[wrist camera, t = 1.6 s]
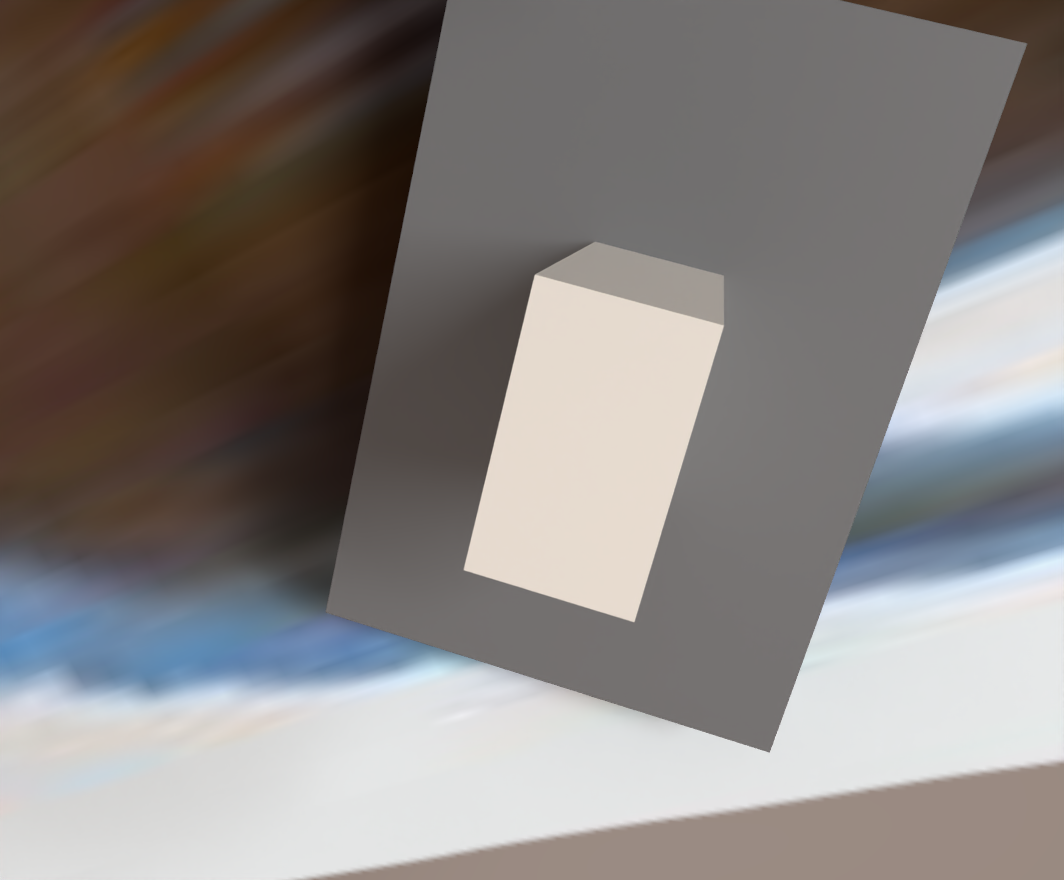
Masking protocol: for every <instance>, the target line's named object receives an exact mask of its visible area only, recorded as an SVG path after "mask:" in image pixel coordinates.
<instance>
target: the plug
mask: <svg viewBox="0 0 1064 880" xmlns="http://www.w3.org/2000/svg"><path fill="white" fill-rule="evenodd" d="M723 327H724V276H723V275H720V274H716V273H712V272H708V271H705V270H701V269H697V268H693V267H689V266H686V265H682V264H678V263H674V262H671V261H667V260H663V259H659V258H655V257H652V256H648V255H644V254H640V253H636V252H633V251H629V250H625V249H621V248H618V247H614V246H610V245H606V244H602V243H599V242H594V243H592V244H590V245H588V246H586V247H584V248H583V249H581V250H579V251H577V252H575V253H573V254H572V255H570V256H568V257H566V258H564V259H562V260H561V261H559V262H557V263H555V264H553V265H551V266H550V267H548V268H546V269H544V270H542V271H540V272H539V273H537V274H535V276H534V280H533V284H532V288H531V293H530V297H529V301H528V305H527V309H526V313H525V317H524V322H523V326H522V330H521V334H520V338H519V342H518V346H517V351H516V355H515V359H514V363H513V367H512V371H511V375H510V380H509V384H508V388H507V392H506V396H505V400H504V405H503V409H502V413H501V417H500V421H499V425H498V429H497V434H496V438H495V442H494V446H493V450H492V454H491V458H490V463H489V467H488V471H487V475H486V479H485V483H484V487H483V492H482V496H481V500H480V504H479V508H478V512H477V516H476V521H475V525H474V529H473V533H472V537H471V541H470V545H469V550H468V554H467V558H466V562H465V566H464V570H465V571H468V572H471V573H475V574H478V575H481V576H485V577H488V578H491V579H494V580H498V581H501V582H504V583H507V584H511V585H514V586H517V587H521V588H524V589H527V590H530V591H534V592H537V593H540V594H543V595H547V596H550V597H553V598H557V599H560V600H563V601H566V602H570V603H573V604H576V605H579V606H583V607H586V608H589V609H593V610H596V611H599V612H602V613H606V614H609V615H612V616H615V617H619V618H622V619H625V620H629V621H632V622H635V618H636V615H637V612H638V609H639V605H640V602H641V599H642V595H643V592H644V589H645V585H646V582H647V579H648V575H649V572H650V569H651V566H652V562H653V559H654V556H655V552H656V549H657V546H658V542H659V539H660V536H661V532H662V529H663V526H664V523H665V519H666V516H667V513H668V509H669V506H670V503H671V499H672V496H673V493H674V489H675V486H676V483H677V480H678V476H679V473H680V470H681V466H682V463H683V460H684V456H685V453H686V450H687V446H688V443H689V440H690V437H691V433H692V430H693V427H694V423H695V420H696V417H697V413H698V410H699V407H700V403H701V400H702V397H703V394H704V390H705V387H706V384H707V380H708V377H709V374H710V370H711V367H712V364H713V360H714V357H715V354H716V351H717V347H718V344H719V341H720V337H721V334H722V331H723Z"/></svg>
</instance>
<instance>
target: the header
mask: <svg viewBox="0 0 1064 880" xmlns="http://www.w3.org/2000/svg"><path fill="white" fill-rule="evenodd" d="M1026 45H1027V44H1026V43H1022V42H1018V41H1013V40H1009V39H1005V38H1000V37H996V36H992V35H987V34H983V33H979V32H974V31H970V30H966V29H961V28H957V27H953V26H948V25H944V24H940V23H936V22H931V21H927V20H923V19H918V18H914V17H910V16H905V15H901V14H897V13H892V12H888V11H884V10H879V9H875V8H871V7H866V6H862V5H858V4H853V3H849V2H845V1H840V0H447V4H446V9H445V14H444V20H443V25H442V30H441V35H440V40H439V45H438V50H437V55H436V60H435V65H434V70H433V75H432V80H431V85H430V90H429V95H428V100H427V105H426V110H425V115H424V120H423V125H422V130H421V135H420V140H419V145H418V150H417V155H416V160H415V165H414V170H413V176H412V181H411V186H410V191H409V196H408V201H407V206H406V211H405V216H404V221H403V226H402V231H401V236H400V241H399V246H398V251H397V256H396V261H395V266H394V271H393V276H392V281H391V286H390V291H389V296H388V301H387V306H386V311H385V316H384V321H383V326H382V331H381V337H380V342H379V347H378V352H377V357H376V362H375V367H374V372H373V377H372V382H371V387H370V392H369V397H368V402H367V407H366V412H365V417H364V422H363V427H362V432H361V437H360V442H359V447H358V452H357V457H356V462H355V467H354V472H353V477H352V482H351V487H350V493H349V498H348V503H347V508H346V513H345V518H344V523H343V528H342V533H341V538H340V543H339V548H338V553H337V558H336V563H335V568H334V573H333V578H332V583H331V588H330V593H329V598H328V603H327V608H326V613H329V614H332V615H335V616H339V617H342V618H345V619H348V620H351V621H354V622H358V623H361V624H364V625H367V626H370V627H373V628H377V629H380V630H383V631H386V632H389V633H392V634H396V635H399V636H402V637H405V638H408V639H411V640H415V641H418V642H421V643H424V644H427V645H430V646H434V647H437V648H440V649H443V650H446V651H450V652H453V653H456V654H459V655H462V656H465V657H469V658H472V659H475V660H478V661H481V662H484V663H488V664H491V665H494V666H497V667H500V668H503V669H507V670H510V671H513V672H516V673H519V674H522V675H526V676H529V677H532V678H535V679H538V680H541V681H545V682H548V683H551V684H554V685H557V686H560V687H564V688H567V689H570V690H573V691H576V692H580V693H583V694H586V695H589V696H592V697H595V698H599V699H602V700H605V701H608V702H611V703H614V704H618V705H621V706H624V707H627V708H630V709H633V710H637V711H640V712H643V713H646V714H649V715H652V716H656V717H659V718H662V719H665V720H668V721H671V722H675V723H678V724H681V725H684V726H687V727H690V728H694V729H697V730H700V731H703V732H706V733H710V734H713V735H716V736H719V737H722V738H725V739H729V740H732V741H735V742H738V743H741V744H744V745H748V746H751V747H754V748H757V749H760V750H763V751H767V752H770V750H771V747H772V745H773V742H774V739H775V736H776V734H777V731H778V728H779V725H780V723H781V720H782V717H783V714H784V711H785V709H786V706H787V703H788V700H789V698H790V695H791V692H792V689H793V687H794V684H795V681H796V678H797V676H798V673H799V670H800V667H801V665H802V662H803V659H804V656H805V654H806V651H807V648H808V645H809V643H810V640H811V637H812V634H813V632H814V629H815V626H816V623H817V621H818V618H819V615H820V612H821V610H822V607H823V604H824V601H825V599H826V596H827V593H828V590H829V588H830V585H831V582H832V579H833V577H834V574H835V571H836V568H837V566H838V563H839V560H840V557H841V555H842V552H843V549H844V546H845V544H846V541H847V538H848V535H849V533H850V530H851V527H852V524H853V521H854V519H855V516H856V513H857V510H858V508H859V505H860V502H861V499H862V497H863V494H864V491H865V488H866V486H867V483H868V480H869V477H870V475H871V472H872V469H873V466H874V464H875V461H876V458H877V455H878V453H879V450H880V447H881V444H882V442H883V439H884V436H885V433H886V431H887V428H888V425H889V422H890V420H891V417H892V414H893V411H894V409H895V406H896V403H897V400H898V398H899V395H900V392H901V389H902V387H903V384H904V381H905V378H906V376H907V373H908V370H909V367H910V365H911V362H912V359H913V356H914V354H915V351H916V348H917V345H918V343H919V340H920V337H921V334H922V331H923V329H924V326H925V323H926V320H927V318H928V315H929V312H930V309H931V307H932V304H933V301H934V298H935V296H936V293H937V290H938V287H939V285H940V282H941V279H942V276H943V274H944V271H945V268H946V265H947V263H948V260H949V257H950V254H951V252H952V249H953V246H954V243H955V241H956V238H957V235H958V232H959V230H960V227H961V224H962V221H963V219H964V216H965V213H966V210H967V208H968V205H969V202H970V199H971V197H972V194H973V191H974V188H975V186H976V183H977V180H978V177H979V175H980V172H981V169H982V166H983V164H984V161H985V158H986V155H987V153H988V150H989V147H990V144H991V142H992V139H993V136H994V133H995V130H996V128H997V125H998V122H999V119H1000V117H1001V114H1002V111H1003V108H1004V106H1005V103H1006V100H1007V97H1008V95H1009V92H1010V89H1011V86H1012V84H1013V81H1014V78H1015V75H1016V73H1017V70H1018V67H1019V64H1020V62H1021V59H1022V56H1023V53H1024V51H1025V48H1026ZM594 242H599V243H602V244H606V245H610V246H614V247H618V248H621V249H625V250H629V251H633V252H636V253H640V254H644V255H648V256H652V257H655V258H659V259H663V260H667V261H671V262H674V263H678V264H682V265H686V266H689V267H693V268H697V269H701V270H705V271H708V272H712V273H716V274H720V275H723V276H724V327H723V331H722V334H721V337H720V341H719V344H718V347H717V351H716V354H715V357H714V360H713V364H712V367H711V370H710V374H709V377H708V380H707V384H706V387H705V390H704V394H703V397H702V400H701V403H700V407H699V410H698V413H697V417H696V420H695V423H694V427H693V430H692V433H691V437H690V440H689V443H688V446H687V450H686V453H685V456H684V460H683V463H682V466H681V470H680V473H679V476H678V480H677V483H676V486H675V489H674V493H673V496H672V499H671V503H670V506H669V509H668V513H667V516H666V519H665V523H664V526H663V529H662V532H661V536H660V539H659V542H658V546H657V549H656V552H655V556H654V559H653V562H652V566H651V569H650V572H649V575H648V579H647V582H646V585H645V589H644V592H643V595H642V599H641V602H640V605H639V609H638V612H637V615H636V618H635V622H632V621H629V620H625V619H622V618H619V617H615V616H612V615H609V614H606V613H602V612H599V611H596V610H593V609H589V608H586V607H583V606H579V605H576V604H573V603H570V602H566V601H563V600H560V599H557V598H553V597H550V596H547V595H543V594H540V593H537V592H534V591H530V590H527V589H524V588H521V587H517V586H514V585H511V584H507V583H504V582H501V581H498V580H494V579H491V578H488V577H485V576H481V575H478V574H475V573H471V572H468V571H465V570H464V566H465V562H466V558H467V554H468V550H469V545H470V541H471V537H472V533H473V529H474V525H475V521H476V516H477V512H478V508H479V504H480V500H481V496H482V492H483V487H484V483H485V479H486V475H487V471H488V467H489V463H490V458H491V454H492V450H493V446H494V442H495V438H496V434H497V429H498V425H499V421H500V417H501V413H502V409H503V405H504V400H505V396H506V392H507V388H508V384H509V380H510V375H511V371H512V367H513V363H514V359H515V355H516V351H517V346H518V342H519V338H520V334H521V330H522V326H523V322H524V317H525V313H526V309H527V305H528V301H529V297H530V293H531V288H532V284H533V280H534V276H535V274H537V273H539V272H540V271H542V270H544V269H546V268H548V267H550V266H551V265H553V264H555V263H557V262H559V261H561V260H562V259H564V258H566V257H568V256H570V255H572V254H573V253H575V252H577V251H579V250H581V249H583V248H584V247H586V246H588V245H590V244H592V243H594Z"/></svg>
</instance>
